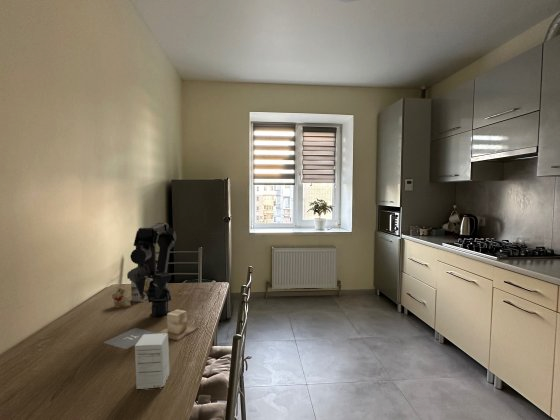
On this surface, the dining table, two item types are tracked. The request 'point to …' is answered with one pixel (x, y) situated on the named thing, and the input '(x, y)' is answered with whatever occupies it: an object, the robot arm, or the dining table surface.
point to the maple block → (177, 321)
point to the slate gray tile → (128, 338)
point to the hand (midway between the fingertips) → (149, 296)
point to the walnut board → (181, 335)
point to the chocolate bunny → (120, 299)
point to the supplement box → (152, 360)
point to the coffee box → (135, 291)
